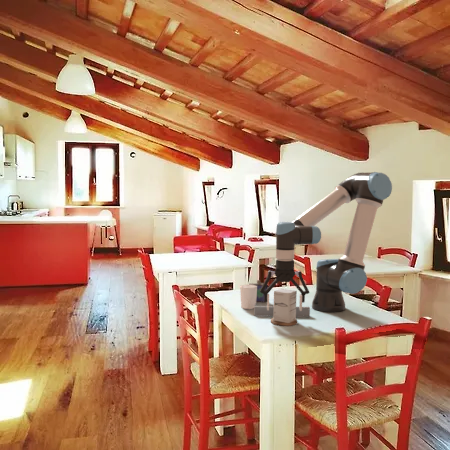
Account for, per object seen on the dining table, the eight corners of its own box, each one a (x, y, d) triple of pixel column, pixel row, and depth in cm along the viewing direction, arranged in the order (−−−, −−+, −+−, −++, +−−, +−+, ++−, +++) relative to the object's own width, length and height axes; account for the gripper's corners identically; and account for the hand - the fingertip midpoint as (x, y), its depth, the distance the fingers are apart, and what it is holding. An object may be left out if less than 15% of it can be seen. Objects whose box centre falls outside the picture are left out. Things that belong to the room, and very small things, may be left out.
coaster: (299, 320, 211) (299, 318, 211) (293, 327, 201) (293, 325, 201) (274, 317, 215) (274, 315, 215) (267, 324, 205) (267, 322, 205)
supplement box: (272, 321, 207) (273, 291, 206) (280, 317, 213) (281, 287, 212) (288, 323, 203) (289, 293, 202) (296, 319, 209) (297, 290, 208)
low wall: (309, 315, 218) (309, 306, 218) (309, 316, 217) (309, 307, 217) (254, 314, 219) (254, 306, 219) (254, 315, 218) (254, 306, 217)
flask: (248, 302, 243) (248, 280, 242) (249, 300, 246) (249, 279, 245) (267, 303, 241) (267, 281, 240) (268, 301, 244) (268, 280, 243)
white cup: (255, 309, 228) (255, 288, 227) (238, 309, 229) (238, 287, 229) (258, 305, 236) (258, 285, 235) (241, 304, 237) (241, 284, 236)
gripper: (314, 258, 209) (313, 308, 211) (254, 257, 210) (254, 307, 212) (316, 261, 202) (315, 312, 203) (255, 260, 202) (254, 311, 204)
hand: (284, 310), depth 208 cm, fingers open, 13 cm apart
